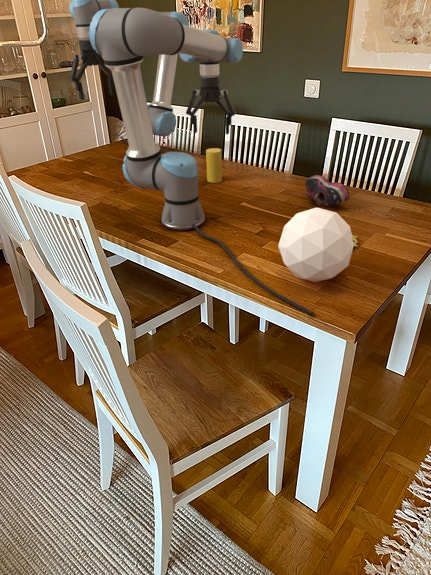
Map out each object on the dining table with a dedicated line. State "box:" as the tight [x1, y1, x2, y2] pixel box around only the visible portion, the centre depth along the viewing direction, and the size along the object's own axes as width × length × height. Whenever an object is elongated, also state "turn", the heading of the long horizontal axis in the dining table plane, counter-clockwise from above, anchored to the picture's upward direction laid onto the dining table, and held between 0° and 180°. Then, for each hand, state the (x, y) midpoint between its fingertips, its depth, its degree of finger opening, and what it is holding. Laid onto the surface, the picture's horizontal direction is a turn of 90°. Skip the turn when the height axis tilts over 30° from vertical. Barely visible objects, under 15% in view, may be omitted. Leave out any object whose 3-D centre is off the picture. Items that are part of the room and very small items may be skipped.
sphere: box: [277, 207, 355, 283], centre depth 118 cm, size 19×20×20 cm
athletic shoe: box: [302, 174, 350, 208], centre depth 165 cm, size 11×22×12 cm
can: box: [205, 147, 223, 184], centre depth 189 cm, size 6×6×13 cm
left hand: (97, 97), depth 185 cm, fingers open, 13 cm apart
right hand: (211, 133), depth 181 cm, fingers open, 13 cm apart
